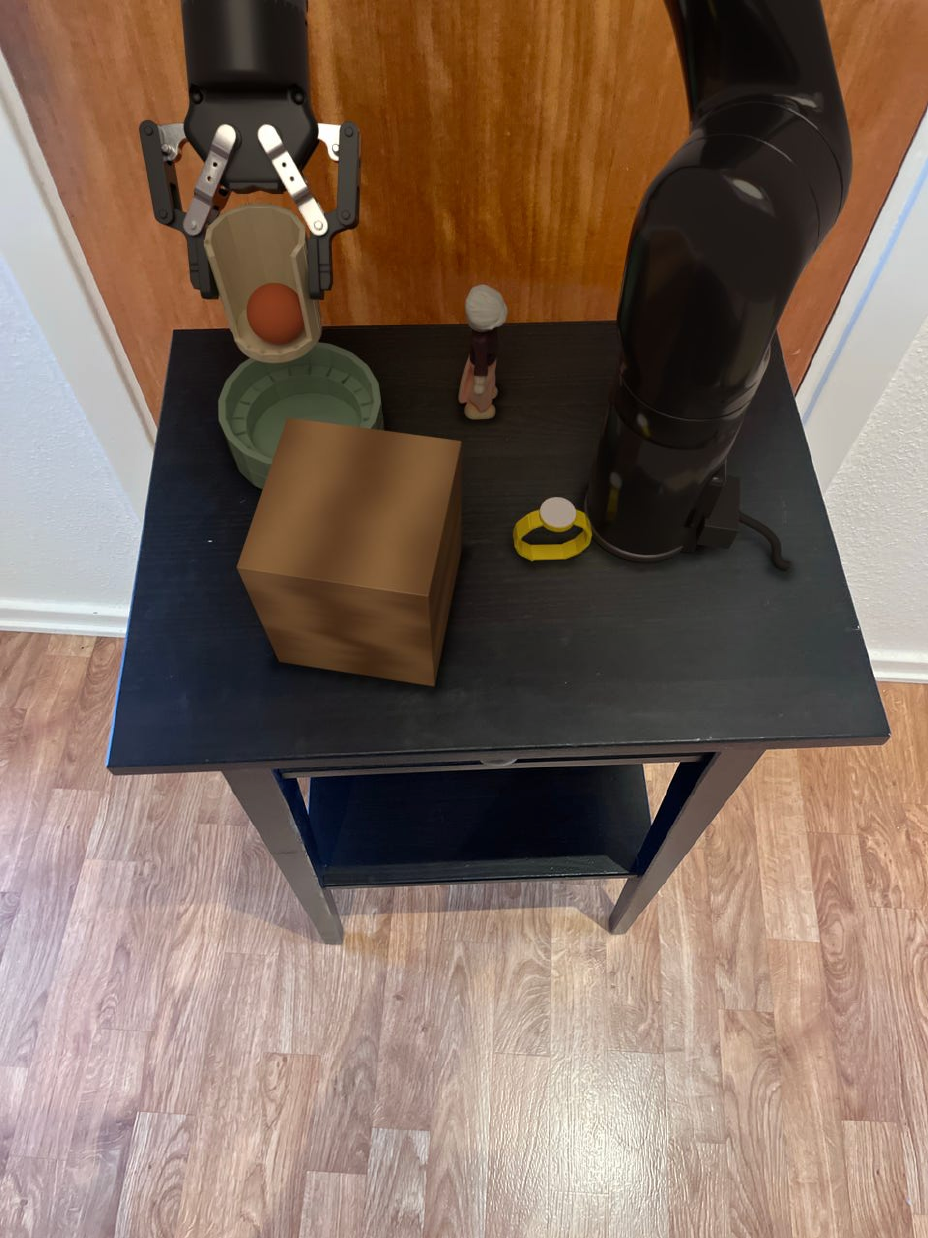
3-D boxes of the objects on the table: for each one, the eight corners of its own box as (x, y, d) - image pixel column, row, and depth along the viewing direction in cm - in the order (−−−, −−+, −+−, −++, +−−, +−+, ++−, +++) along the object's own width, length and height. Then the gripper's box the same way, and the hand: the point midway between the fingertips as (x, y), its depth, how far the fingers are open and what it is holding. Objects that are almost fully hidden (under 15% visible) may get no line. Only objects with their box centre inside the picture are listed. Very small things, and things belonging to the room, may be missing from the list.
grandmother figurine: (456, 373, 78) (456, 257, 67) (498, 372, 79) (505, 256, 67) (460, 440, 75) (460, 330, 64) (504, 438, 75) (511, 328, 64)
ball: (317, 313, 62) (314, 295, 58) (289, 361, 62) (284, 346, 58) (268, 282, 61) (262, 262, 57) (239, 330, 61) (231, 313, 57)
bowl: (398, 392, 77) (394, 351, 73) (366, 512, 71) (360, 476, 67) (256, 373, 78) (244, 332, 74) (213, 490, 72) (197, 453, 68)
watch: (513, 571, 69) (518, 530, 64) (510, 541, 70) (514, 499, 65) (587, 566, 69) (598, 524, 64) (582, 536, 70) (592, 494, 65)
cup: (326, 298, 64) (309, 202, 57) (320, 363, 61) (302, 272, 54) (237, 297, 64) (210, 202, 57) (227, 363, 61) (197, 272, 54)
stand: (461, 551, 70) (461, 440, 57) (434, 686, 64) (428, 596, 52) (317, 530, 71) (286, 416, 58) (278, 662, 65) (236, 567, 53)
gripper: (102, -16, 49) (137, 296, 54) (355, -15, 49) (366, 297, 54) (147, 29, 56) (174, 301, 61) (368, 30, 56) (376, 301, 61)
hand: (264, 298), depth 58 cm, fingers closed on cup, 6 cm apart
